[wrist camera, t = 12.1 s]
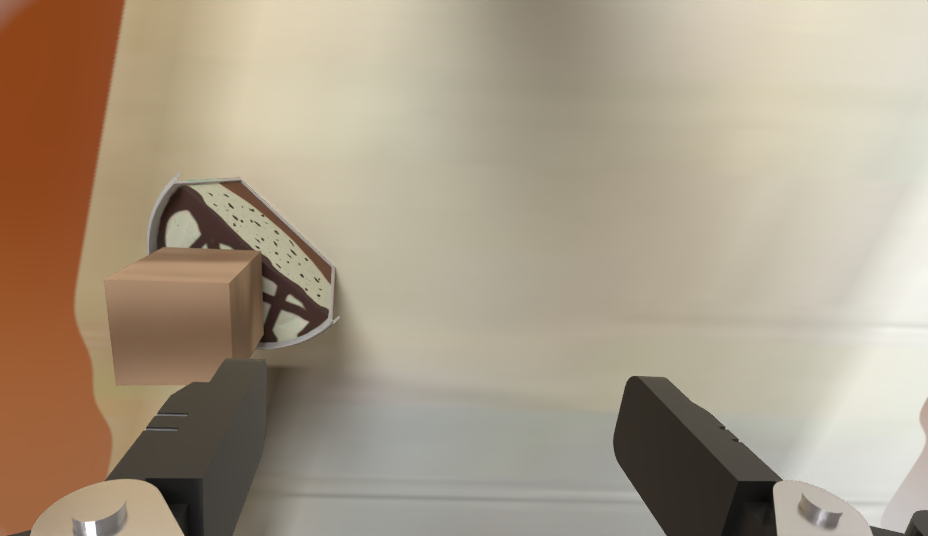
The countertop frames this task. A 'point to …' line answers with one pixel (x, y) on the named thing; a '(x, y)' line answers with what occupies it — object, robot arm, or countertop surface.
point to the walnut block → (184, 314)
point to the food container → (251, 228)
